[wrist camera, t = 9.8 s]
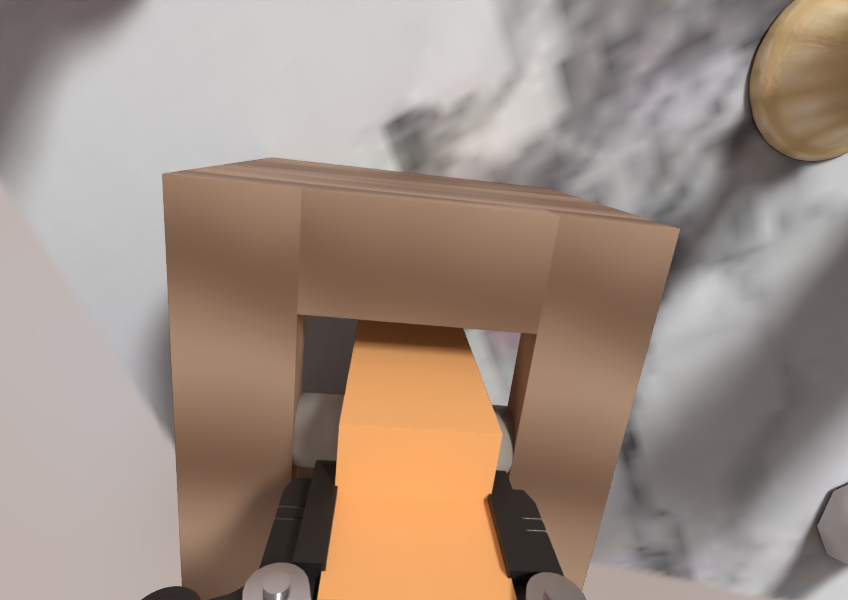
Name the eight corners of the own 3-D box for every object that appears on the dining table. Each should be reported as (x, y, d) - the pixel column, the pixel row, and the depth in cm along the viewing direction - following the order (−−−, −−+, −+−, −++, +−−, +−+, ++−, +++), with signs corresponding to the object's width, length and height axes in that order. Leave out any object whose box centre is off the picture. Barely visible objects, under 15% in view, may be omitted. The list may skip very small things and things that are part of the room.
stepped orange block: (363, 293, 22) (322, 514, 9) (452, 301, 22) (536, 524, 9) (354, 412, 24) (308, 738, 11) (436, 417, 24) (488, 739, 11)
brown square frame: (271, 157, 24) (162, 173, 12) (549, 188, 25) (680, 229, 14) (266, 440, 29) (184, 637, 17) (500, 454, 30) (566, 646, 19)
